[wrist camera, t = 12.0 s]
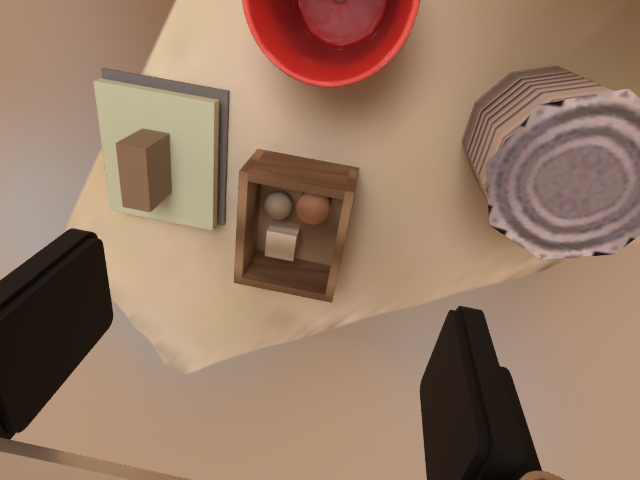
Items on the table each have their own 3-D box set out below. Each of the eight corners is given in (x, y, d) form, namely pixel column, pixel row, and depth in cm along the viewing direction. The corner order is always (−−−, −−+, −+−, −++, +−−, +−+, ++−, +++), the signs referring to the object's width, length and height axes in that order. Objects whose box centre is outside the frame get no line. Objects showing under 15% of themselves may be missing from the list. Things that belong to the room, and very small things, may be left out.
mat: (103, 67, 39) (101, 68, 39) (229, 90, 39) (227, 91, 38) (119, 202, 47) (117, 203, 46) (225, 223, 46) (223, 224, 46)
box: (257, 148, 41) (239, 171, 36) (358, 168, 41) (354, 193, 36) (250, 251, 47) (233, 282, 42) (338, 268, 47) (332, 302, 42)
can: (536, 213, 41) (586, 287, 30) (435, 157, 39) (452, 215, 29) (633, 106, 35) (735, 153, 25) (519, 36, 34) (577, 56, 23)
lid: (107, 76, 39) (59, 90, 34) (222, 97, 39) (194, 115, 33) (121, 201, 46) (83, 231, 40) (219, 220, 45) (195, 253, 40)
